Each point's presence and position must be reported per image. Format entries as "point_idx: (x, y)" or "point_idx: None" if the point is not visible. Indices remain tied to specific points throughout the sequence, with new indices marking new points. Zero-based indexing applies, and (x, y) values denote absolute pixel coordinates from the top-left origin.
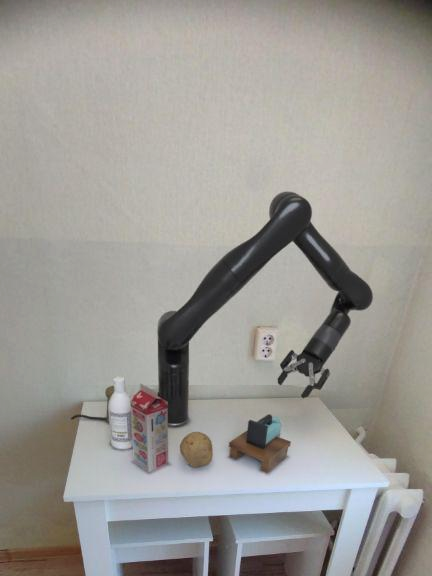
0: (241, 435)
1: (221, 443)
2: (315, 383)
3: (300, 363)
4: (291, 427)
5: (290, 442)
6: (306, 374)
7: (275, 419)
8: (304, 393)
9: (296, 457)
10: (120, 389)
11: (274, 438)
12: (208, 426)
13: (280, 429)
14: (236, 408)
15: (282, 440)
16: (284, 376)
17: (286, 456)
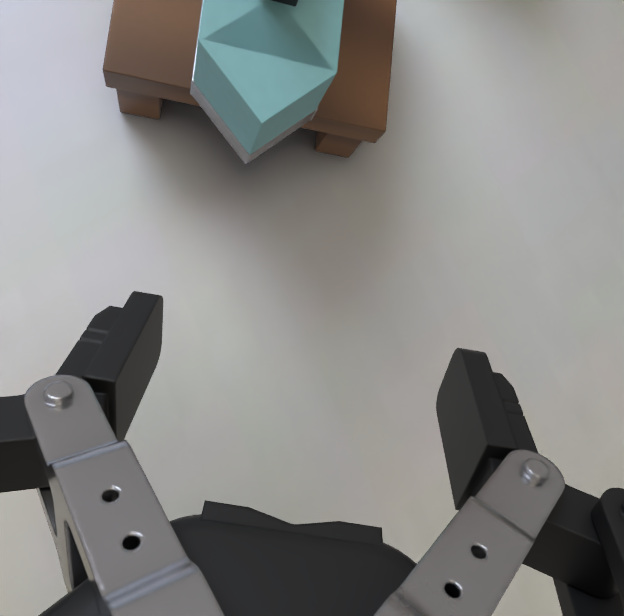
0: (387, 7)
1: (455, 83)
2: (7, 435)
3: (402, 601)
4: (226, 462)
5: (103, 69)
6: (203, 511)
7: (260, 72)
8: (127, 306)
9: (66, 134)
10: None
11: (200, 12)
12: (581, 203)
13: (195, 63)
14: (580, 476)
15: (156, 58)
16: (469, 423)
17: (119, 107)
